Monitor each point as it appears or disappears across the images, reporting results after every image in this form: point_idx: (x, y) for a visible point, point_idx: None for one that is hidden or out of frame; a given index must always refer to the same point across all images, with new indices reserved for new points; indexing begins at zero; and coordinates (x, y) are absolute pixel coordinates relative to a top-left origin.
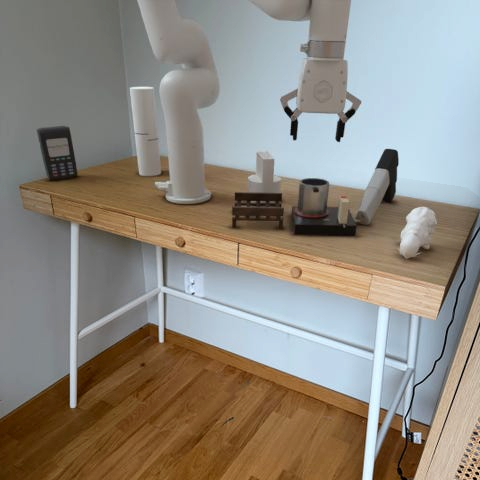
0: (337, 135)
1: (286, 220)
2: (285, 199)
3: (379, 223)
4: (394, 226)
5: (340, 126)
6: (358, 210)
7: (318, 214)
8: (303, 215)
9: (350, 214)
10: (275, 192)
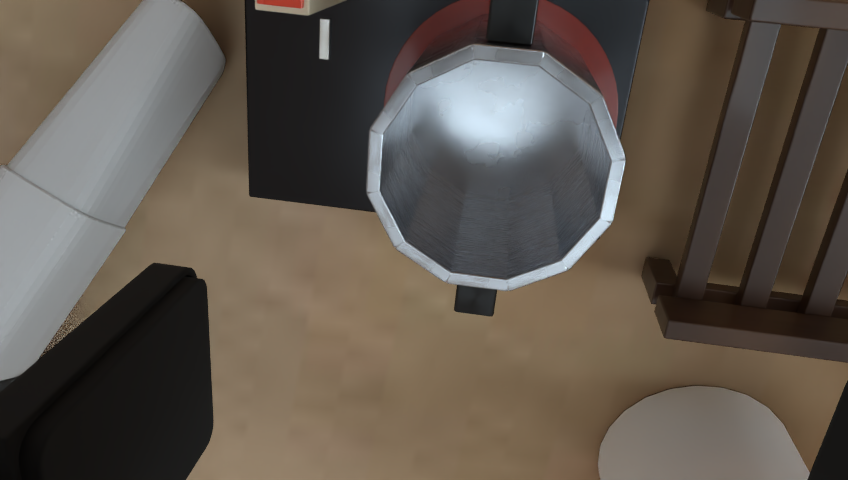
0: (167, 341)
1: (644, 138)
2: (562, 462)
3: None
4: (18, 4)
5: (44, 394)
6: (195, 27)
7: (472, 19)
8: (576, 26)
9: (252, 57)
10: (656, 445)
